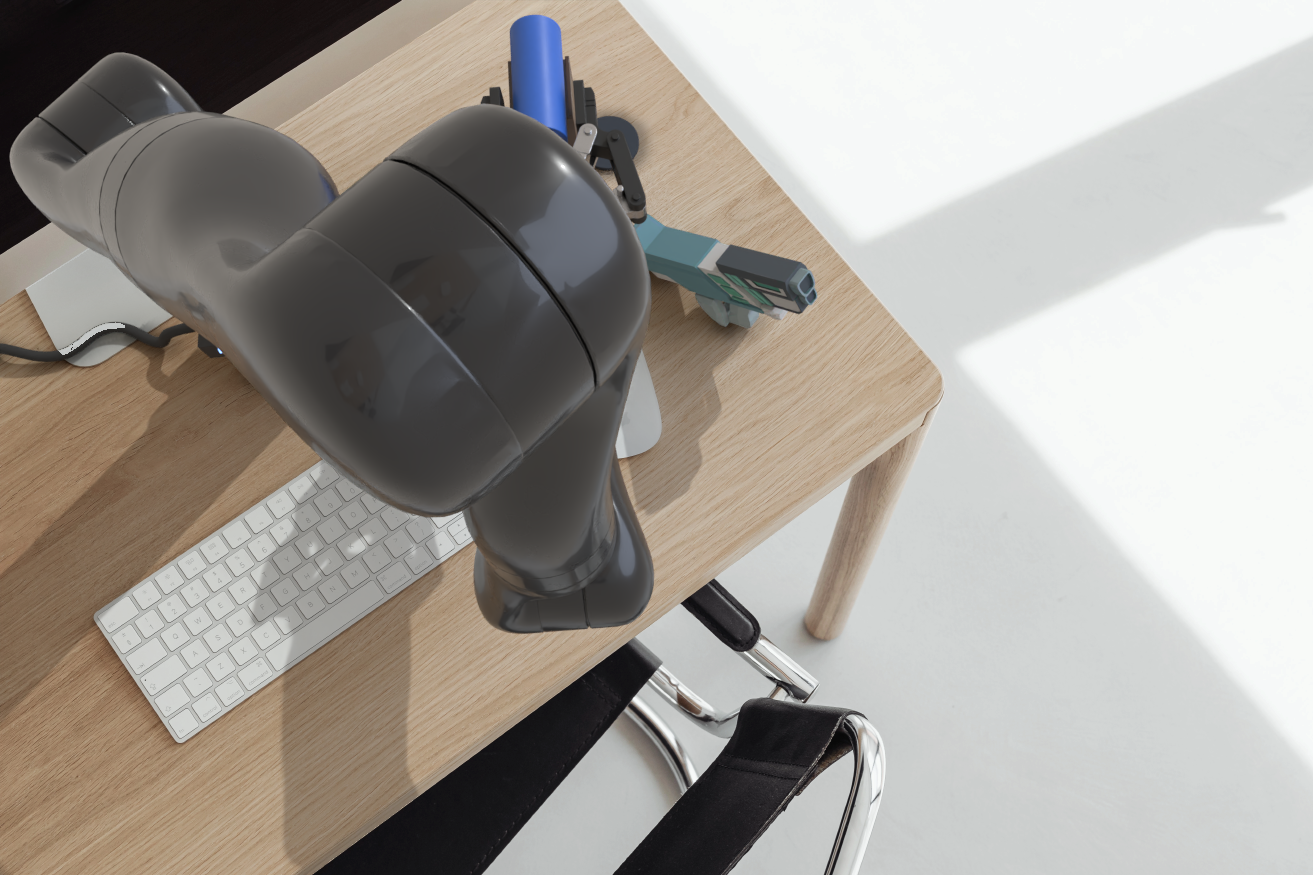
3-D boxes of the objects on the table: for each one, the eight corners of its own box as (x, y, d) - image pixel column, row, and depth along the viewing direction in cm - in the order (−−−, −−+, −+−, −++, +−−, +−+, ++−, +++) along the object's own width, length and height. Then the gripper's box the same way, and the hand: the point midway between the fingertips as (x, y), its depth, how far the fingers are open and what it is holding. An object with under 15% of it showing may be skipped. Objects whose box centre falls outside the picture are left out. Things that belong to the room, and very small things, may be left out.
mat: (580, 173, 92) (580, 170, 92) (577, 121, 94) (576, 118, 93) (641, 168, 92) (641, 165, 92) (636, 116, 94) (636, 113, 93)
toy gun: (831, 371, 79) (783, 286, 72) (671, 316, 92) (618, 240, 85) (857, 337, 80) (812, 250, 73) (695, 287, 93) (644, 209, 86)
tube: (570, 156, 70) (565, 125, 66) (518, 159, 70) (511, 129, 66) (563, 47, 72) (558, 12, 69) (513, 51, 72) (506, 16, 69)
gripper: (660, 280, 60) (639, 45, 65) (423, 300, 60) (420, 64, 66) (663, 329, 68) (643, 114, 73) (451, 347, 68) (446, 131, 73)
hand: (537, 91), depth 69 cm, fingers open, 5 cm apart
